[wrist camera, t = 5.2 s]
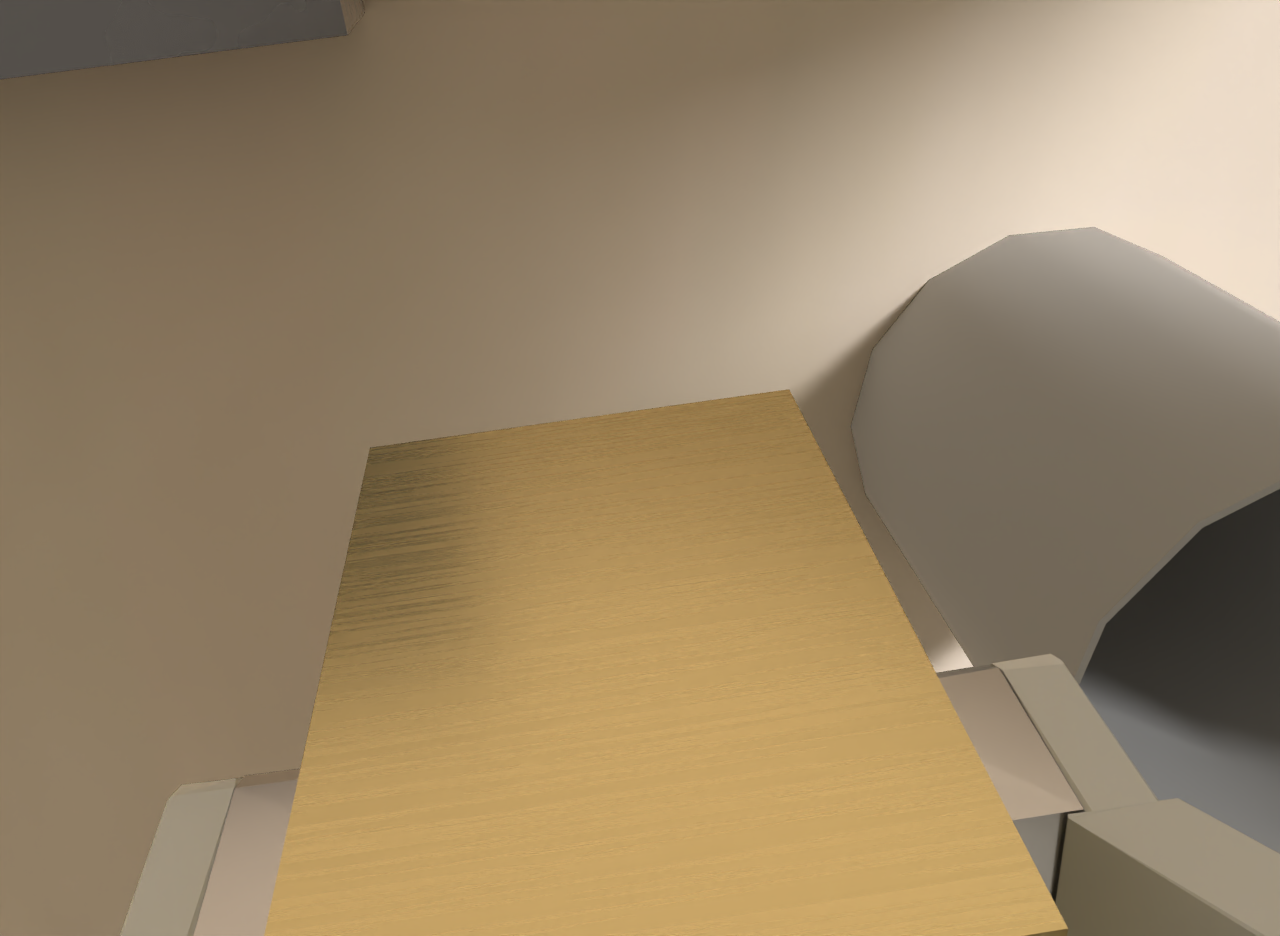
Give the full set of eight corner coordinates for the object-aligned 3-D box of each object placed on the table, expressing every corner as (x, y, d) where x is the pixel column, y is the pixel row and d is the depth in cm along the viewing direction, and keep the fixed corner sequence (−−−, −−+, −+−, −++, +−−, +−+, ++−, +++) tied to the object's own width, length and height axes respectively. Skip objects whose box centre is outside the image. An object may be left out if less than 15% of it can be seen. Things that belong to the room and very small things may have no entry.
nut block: (788, 389, 10) (1068, 927, 5) (799, 702, 12) (1010, 1314, 7) (370, 447, 10) (235, 1062, 5) (449, 756, 12) (409, 1422, 7)
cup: (1276, 304, 25) (1709, 538, 16) (1080, 592, 28) (1352, 917, 19) (965, 171, 22) (1279, 364, 14) (791, 504, 26) (953, 829, 17)
